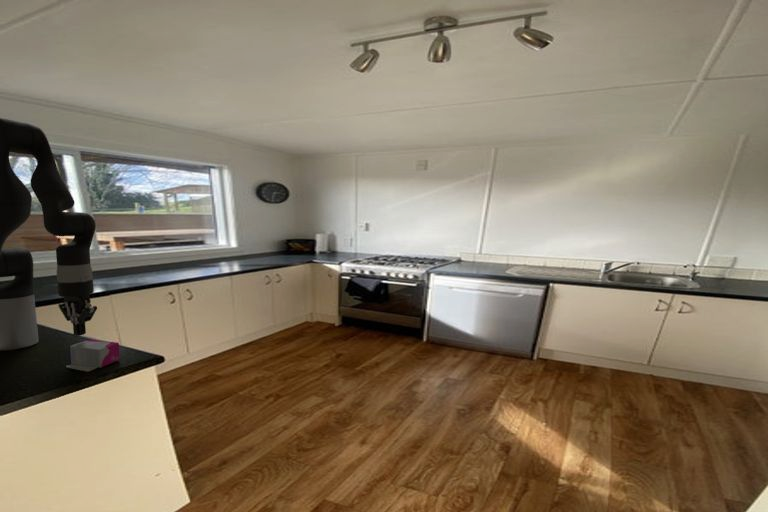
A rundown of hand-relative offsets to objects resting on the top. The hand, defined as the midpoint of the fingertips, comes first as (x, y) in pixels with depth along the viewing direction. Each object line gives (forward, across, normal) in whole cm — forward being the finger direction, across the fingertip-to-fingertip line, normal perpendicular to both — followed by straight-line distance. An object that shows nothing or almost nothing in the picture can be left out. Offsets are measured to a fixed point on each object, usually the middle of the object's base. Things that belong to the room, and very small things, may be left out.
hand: (80, 334), depth 94 cm
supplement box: (+6, -1, 0) cm, 6 cm away
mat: (+8, +5, 0) cm, 10 cm away
